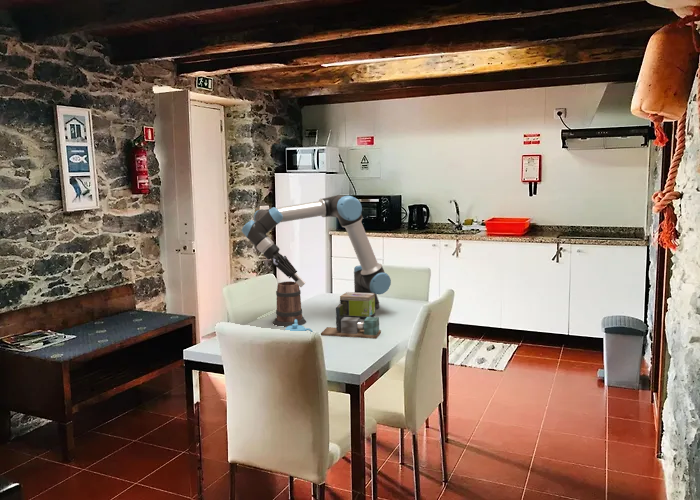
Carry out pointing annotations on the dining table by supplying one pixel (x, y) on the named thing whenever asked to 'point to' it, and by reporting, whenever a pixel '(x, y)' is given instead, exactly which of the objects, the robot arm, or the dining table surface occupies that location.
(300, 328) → the teapot
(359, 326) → the grey piece
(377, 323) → the tube stand
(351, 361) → the dining table surface
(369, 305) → the tea box
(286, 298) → the tankard
